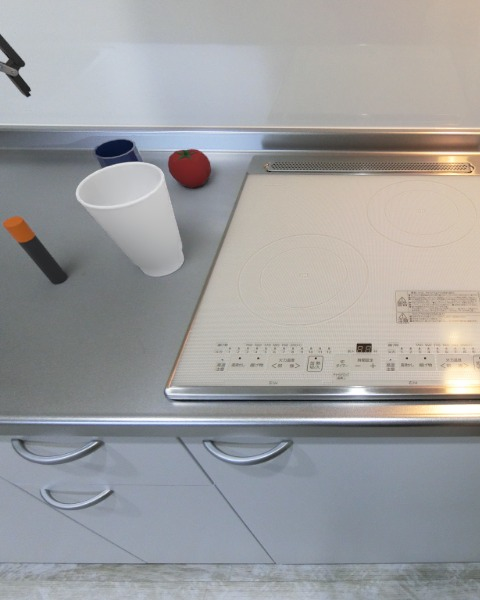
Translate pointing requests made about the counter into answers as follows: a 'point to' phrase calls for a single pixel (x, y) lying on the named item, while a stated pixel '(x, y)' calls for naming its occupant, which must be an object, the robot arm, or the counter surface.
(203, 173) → the tomato
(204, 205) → the counter surface
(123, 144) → the pen pot
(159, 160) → the counter surface
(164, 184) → the cup
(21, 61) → the robot arm
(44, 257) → the marker
